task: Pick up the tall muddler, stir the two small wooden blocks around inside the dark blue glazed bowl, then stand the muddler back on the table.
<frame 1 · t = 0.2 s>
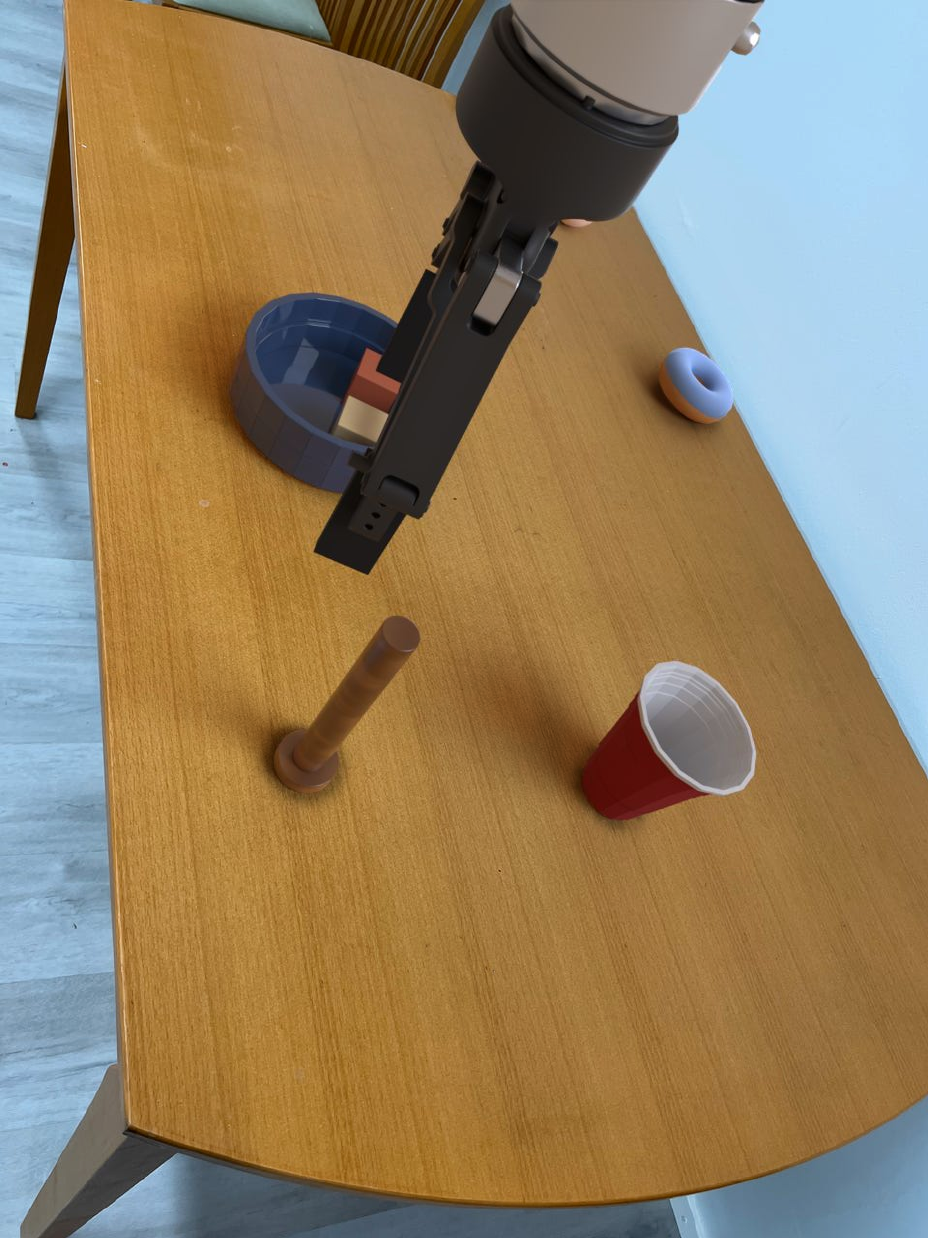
hand: (373, 460, 49), 27 cm above the table, tool pointing down, fingers open, 13 cm apart
terracotta block: (366, 401, 91), point 1 cm above the table, touching bowl
doughnut: (683, 400, 117), on the table
plastic cup: (612, 789, 80), on the table
egg: (564, 222, 127), on the table
birch block: (348, 449, 86), point 1 cm above the table, touching bowl
muddler: (303, 764, 68), on the table
bowl: (330, 417, 88), on the table
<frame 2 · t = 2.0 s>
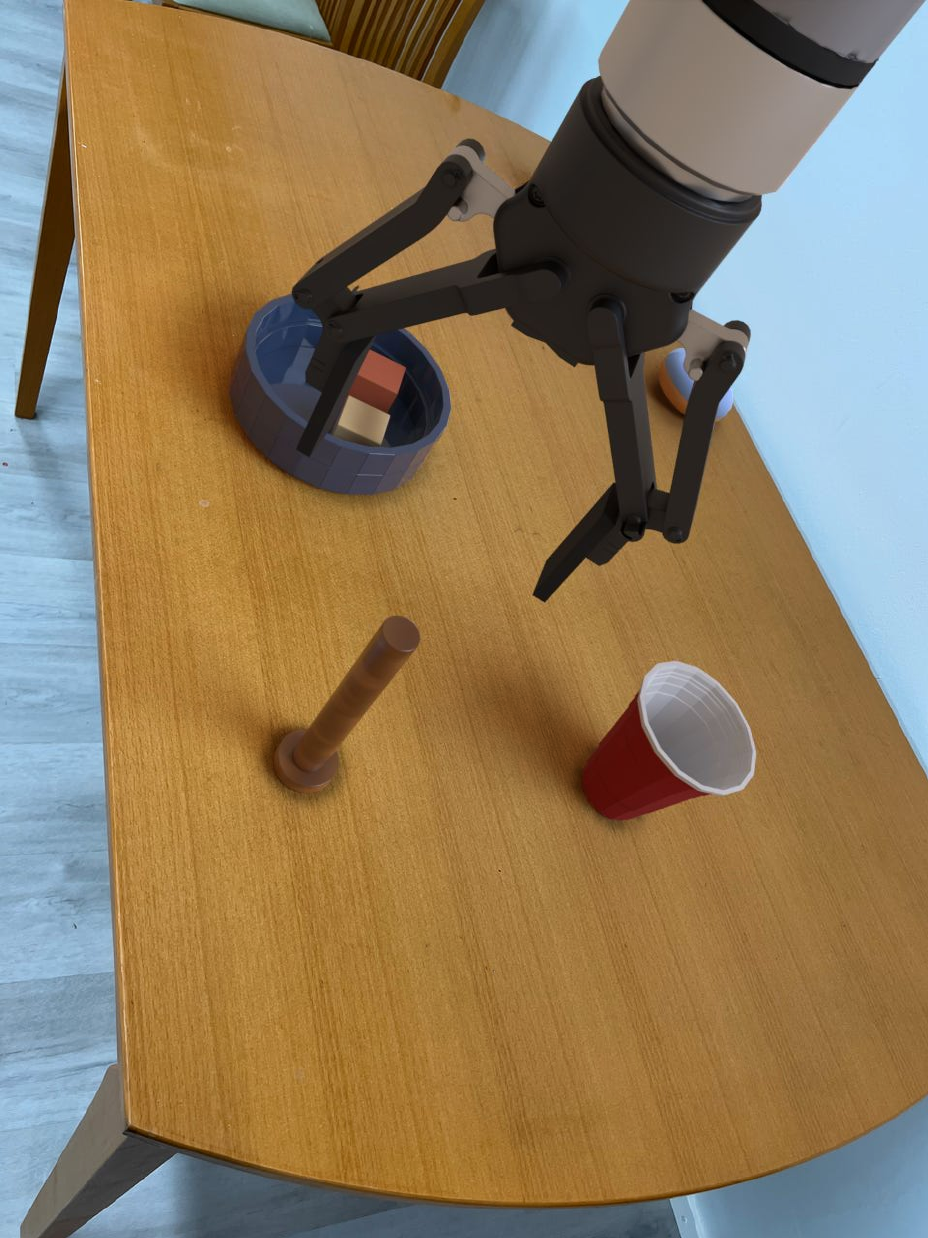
hand: (431, 511, 49), 27 cm above the table, tool pointing down, fingers open, 13 cm apart
nothing on the table moved.
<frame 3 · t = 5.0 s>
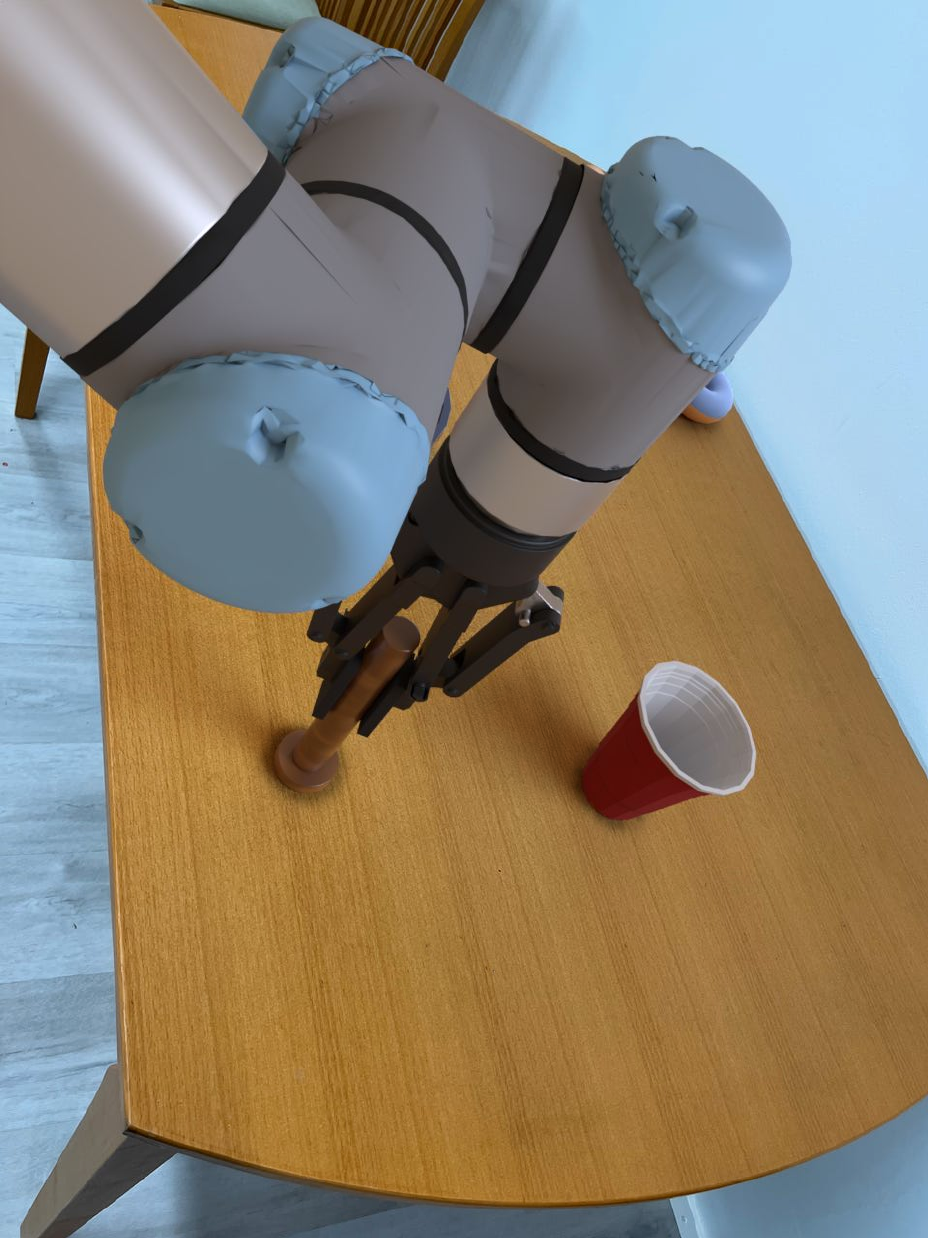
hand: (344, 709, 62), 9 cm above the table, tool pointing down, fingers closed on muddler, 2 cm apart
muddler: (303, 764, 68), on the table, touching gripper
everything else where it was.
when the fingers open (9 cm above the table, at t = 26.3 s): muddler stays where it is, on the table.
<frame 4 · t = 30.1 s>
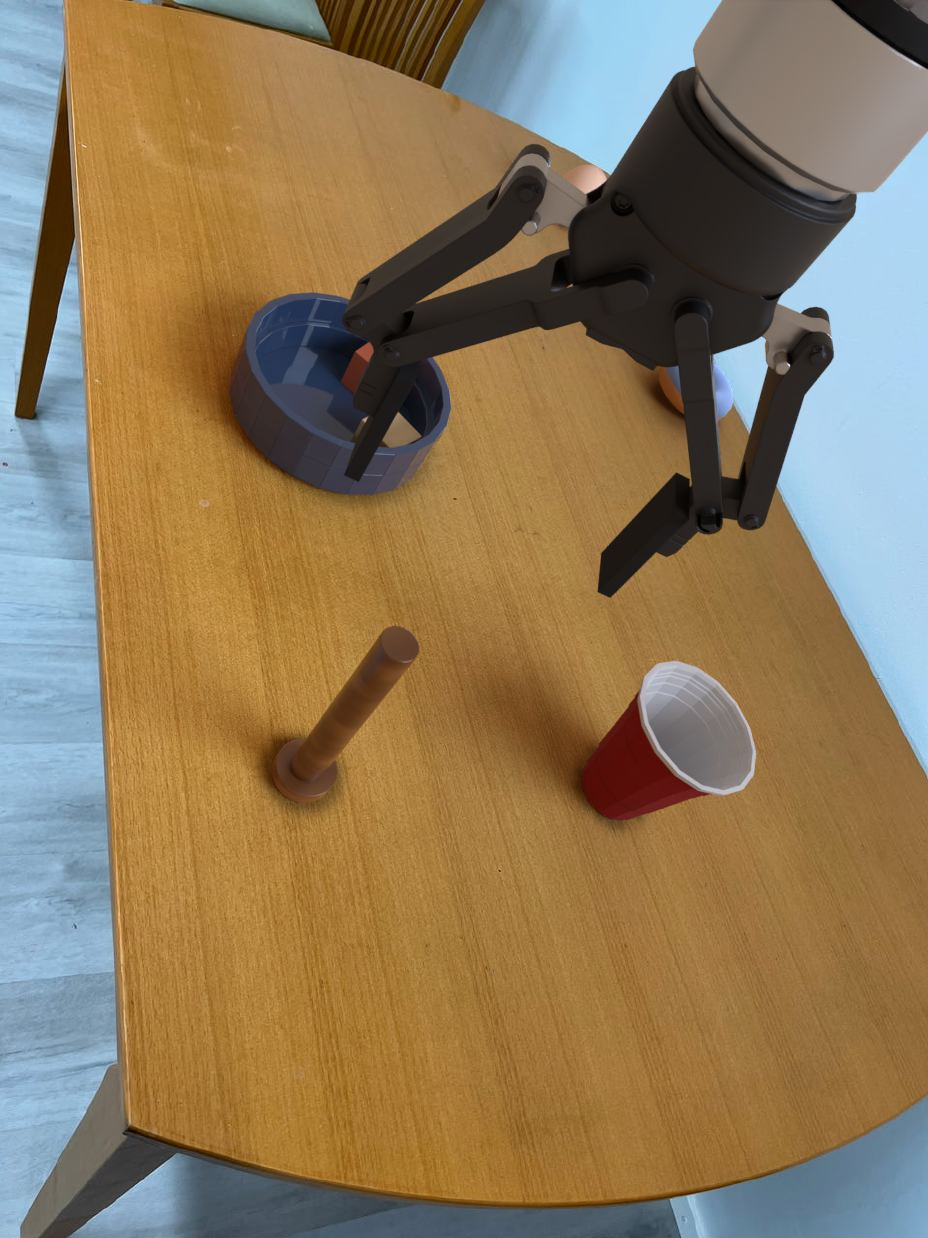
hand: (485, 520, 47), 29 cm above the table, tool pointing down, fingers open, 13 cm apart
terracotta block: (368, 387, 92), point 1 cm above the table, touching bowl
birch block: (375, 457, 87), point 1 cm above the table, touching bowl
muddler: (302, 773, 68), on the table
everything else where it was.
at the end: birch block moved 2.6 cm from its start; birch block inside the target area in the bowl (5.8 cm from its centre), point 0.6 cm above the bowl's base; muddler inside the target area (0.7 cm from its centre), on the table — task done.
